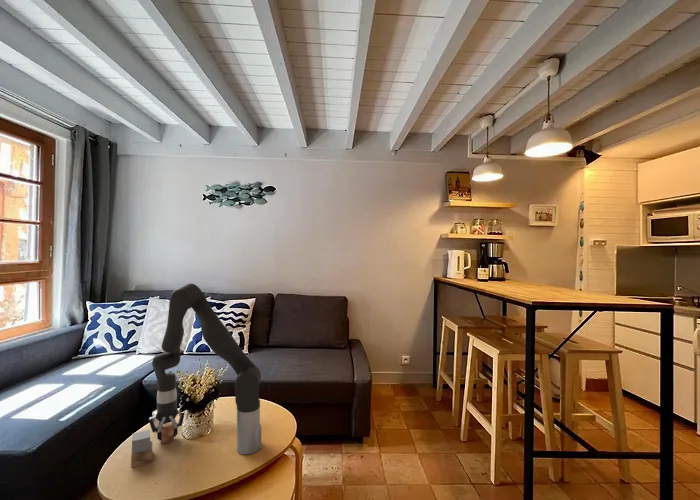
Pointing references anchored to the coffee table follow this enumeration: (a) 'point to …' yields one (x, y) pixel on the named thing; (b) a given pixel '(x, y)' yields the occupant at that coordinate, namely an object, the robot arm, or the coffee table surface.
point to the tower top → (140, 441)
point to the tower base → (142, 457)
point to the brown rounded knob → (167, 433)
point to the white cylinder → (155, 419)
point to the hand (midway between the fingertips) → (167, 437)
